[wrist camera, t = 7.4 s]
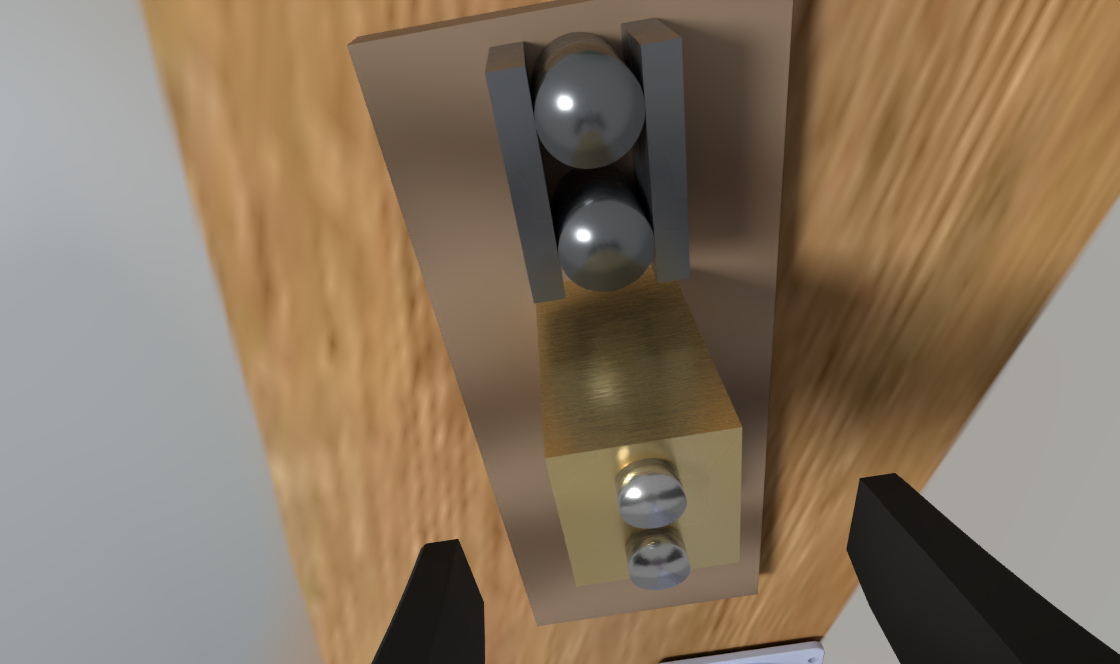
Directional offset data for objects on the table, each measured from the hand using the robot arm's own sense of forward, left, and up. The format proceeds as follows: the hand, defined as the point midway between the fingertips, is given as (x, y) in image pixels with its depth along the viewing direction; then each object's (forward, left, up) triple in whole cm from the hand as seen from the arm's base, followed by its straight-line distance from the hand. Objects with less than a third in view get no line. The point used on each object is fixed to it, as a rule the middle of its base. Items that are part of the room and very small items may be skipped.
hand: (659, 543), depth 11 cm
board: (-3, 0, -8) cm, 8 cm away
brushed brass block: (0, 0, -7) cm, 7 cm away
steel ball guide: (+1, 0, -7) cm, 7 cm away
